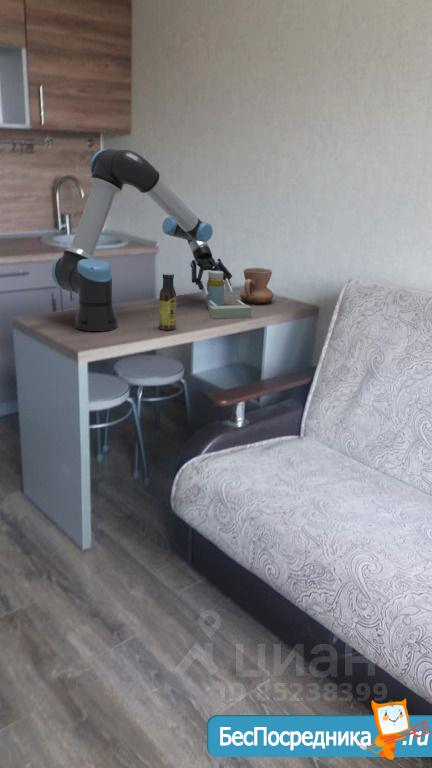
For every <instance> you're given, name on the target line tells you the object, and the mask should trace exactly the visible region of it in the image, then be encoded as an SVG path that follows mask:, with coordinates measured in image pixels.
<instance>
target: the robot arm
mask: <svg viewBox="0 0 432 768" xmlns="http://www.w3.org/2000/svg"><path fill="white" fill-rule="evenodd" d="M89 170H90V174H91V178H90V182H91V184H92V187H91V189H90V193H89V196H88V199H87V201H86V203H85V206H84V209H83V212H82V215H81V216H80V217H81V218H80V220H79V224H78V226H77V228H76V231H75V234H74V237H73V239H72V243H71V246H69V247H67V248H66V249H65V250H63V251H64V252H63V254H62V257H59V258H57V259H56V260H55V261H54V262H53V263H52V267H51V276H52V280H53V282H54V283H55V284H56V285H57V286H58V287H59V288H61V289H62V290H65V291H67V292H71V293H75V294H78V310H77V313H76V316H75V320H74V328H75V329H77V328H78V329H77V330H79V329H81V330H80V331H82V330H86V331H85V332H89V331H102V332H108V331H107V330H109V331H113V330H115V329H117V328H118V325H119V324H118V322H119V321H118V318H117V315H116V313H115V309H114V307H113V274H112V272H113V271H112V267H111V264H110V263H108V262H107V261H104V260H101V259H96V258H94V254H95V251H96V249H97V247H98V243H99V240H100V238H101V235H102V232H103V230H104V228H105V225H106V221H107V219H108V216H109V213H110V210H111V207H112V206H113V202H114V201H115V200H114V199H115V197H116V195H119V194H121V193H122V190H123V187H124V185H127V186H132V187H133V188H135V189H137V190H138V191H139V192H140V193H142V194H146V195H147V196H148V197H149V198H150V199H151V200H152V201H153V202H154V203H155V204H156V205H157V206H158V207H159V208H160V209H161V210H162V211H163V212H164V213H166V215H168V216H167V217H164V220H163V222H162V226H161V228H162V232H163V234H165V235H168V236H169V237H175V238H179V239H183V240H186V241H187V243H188V245H189V248H190V251H191V253H192V256H193V258H194V259H192V260H191V262H190V264H189V265H190V267H191V283H192V284H195V285H196V286H198V289H199V290H200V291H201V293H202V295H203V297H204V298H207V295H208V292H207V285H206V284H205V282H204V280H203V279H202V277H203V273H204V271H222V272H223V282H224V289H225V290H226V292H227V294H228V296H231V294H232V293H233V292H234V291H233V289H232V282H231V279H232V278H233V275H232V274H231V272H230V270H228V269H227V267H226V266H225V265H224V263H222V260H221V258H217V259H214V258H213V253H212V251H211V248H210V246H209V244H208V241H210V240H211V239H212V236H213V232H214V231H213V227H212V225H211V224H210V223H208V222H206V221H202V220H201V219H200V218H199V217H198V216H197V215H196V214H195V213H194V212H193V211H192V209H190V208H189V206H187V204H185V203H184V201H183V200H182V199H181V198H180V197H179V196H178V195H177V194H176V193H175V192H174V191H173V190H172V189H171V188H170V187H169V186H168V185H167V184H166V183H165V181H164V180H162V178H161V173H160V172H159V170H157V169H156V168H155V167H154V166H153V164H151V163H150V162H149V161H148V160H147V159H145V158H144V156H142V155H140V154H139V153H137V152H135V151H134V150H130V149H115V148H106V149H101V150H98V151H97V152H95V154H94V155H93V156H92V158H91V160H90V163H89ZM197 266H198V267H199V269H198V272H197ZM197 273H198V274H197Z"/></svg>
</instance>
